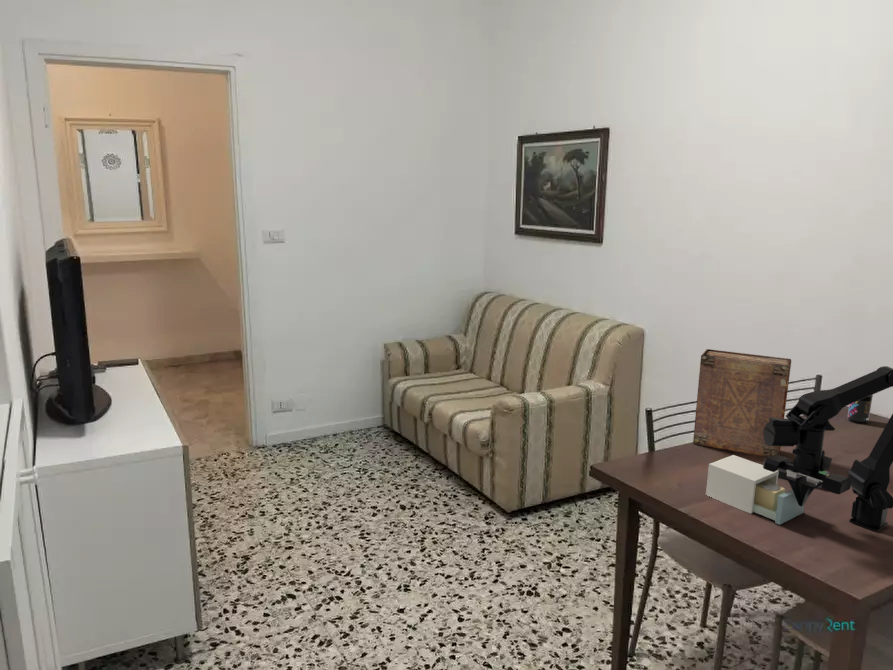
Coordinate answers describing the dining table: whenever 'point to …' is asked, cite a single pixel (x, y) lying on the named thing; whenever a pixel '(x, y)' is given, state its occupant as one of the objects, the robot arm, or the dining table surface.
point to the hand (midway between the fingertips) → (801, 505)
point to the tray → (781, 508)
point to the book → (739, 400)
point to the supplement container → (860, 410)
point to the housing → (737, 481)
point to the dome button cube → (768, 495)
